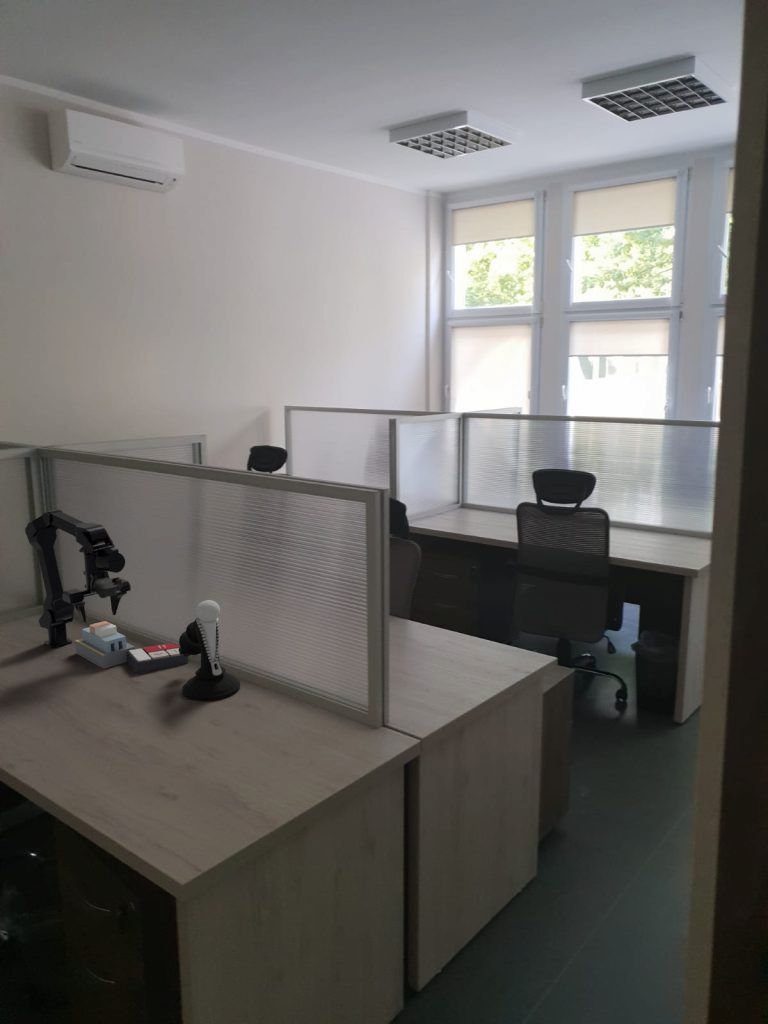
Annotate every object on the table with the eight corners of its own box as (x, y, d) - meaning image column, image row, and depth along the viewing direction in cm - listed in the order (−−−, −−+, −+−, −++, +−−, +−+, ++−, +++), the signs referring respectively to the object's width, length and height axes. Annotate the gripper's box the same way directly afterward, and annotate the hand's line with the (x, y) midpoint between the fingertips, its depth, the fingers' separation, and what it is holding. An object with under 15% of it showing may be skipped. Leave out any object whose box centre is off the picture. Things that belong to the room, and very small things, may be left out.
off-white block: (95, 634, 232) (94, 627, 232) (111, 630, 236) (110, 623, 235) (100, 637, 230) (100, 630, 229) (117, 633, 233) (116, 626, 233)
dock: (76, 653, 238) (75, 640, 237) (107, 644, 245) (106, 632, 244) (103, 668, 226) (102, 655, 225) (135, 659, 233) (134, 646, 232)
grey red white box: (188, 651, 229) (137, 660, 221) (189, 665, 230) (137, 674, 222) (176, 641, 238) (126, 648, 230) (177, 654, 239) (127, 662, 231)
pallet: (83, 639, 238) (82, 629, 237) (101, 634, 242) (100, 624, 242) (107, 653, 227) (106, 641, 226) (126, 647, 231) (125, 636, 230)
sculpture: (197, 706, 200) (191, 612, 195) (160, 678, 218) (154, 592, 214) (250, 690, 209) (246, 600, 205) (210, 664, 228) (205, 582, 223)
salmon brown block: (90, 631, 235) (89, 624, 234) (106, 627, 238) (105, 620, 238) (95, 634, 232) (94, 627, 232) (111, 630, 236) (110, 623, 235)
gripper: (76, 579, 218) (81, 632, 221) (138, 566, 231) (141, 617, 234) (59, 572, 226) (64, 623, 229) (120, 560, 239) (123, 609, 242)
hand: (99, 618), depth 233 cm, fingers open, 9 cm apart
